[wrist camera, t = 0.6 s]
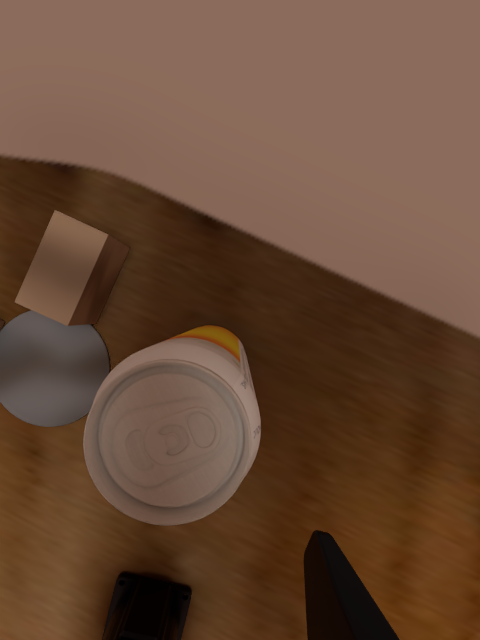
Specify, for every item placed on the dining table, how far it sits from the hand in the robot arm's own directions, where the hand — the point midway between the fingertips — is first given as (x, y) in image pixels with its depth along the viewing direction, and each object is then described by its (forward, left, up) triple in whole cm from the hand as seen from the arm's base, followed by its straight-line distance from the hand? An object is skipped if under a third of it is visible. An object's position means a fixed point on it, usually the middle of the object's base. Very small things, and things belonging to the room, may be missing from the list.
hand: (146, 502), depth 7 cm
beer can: (+1, 0, -17) cm, 17 cm away
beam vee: (-1, +14, -16) cm, 22 cm away
